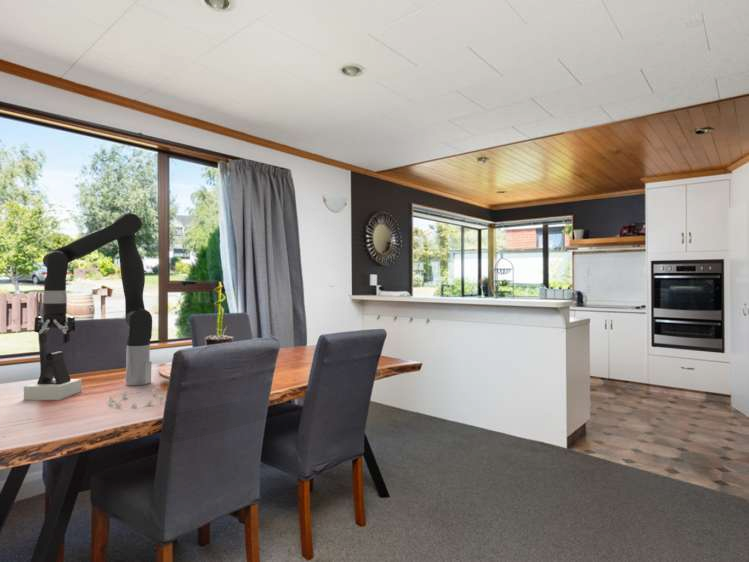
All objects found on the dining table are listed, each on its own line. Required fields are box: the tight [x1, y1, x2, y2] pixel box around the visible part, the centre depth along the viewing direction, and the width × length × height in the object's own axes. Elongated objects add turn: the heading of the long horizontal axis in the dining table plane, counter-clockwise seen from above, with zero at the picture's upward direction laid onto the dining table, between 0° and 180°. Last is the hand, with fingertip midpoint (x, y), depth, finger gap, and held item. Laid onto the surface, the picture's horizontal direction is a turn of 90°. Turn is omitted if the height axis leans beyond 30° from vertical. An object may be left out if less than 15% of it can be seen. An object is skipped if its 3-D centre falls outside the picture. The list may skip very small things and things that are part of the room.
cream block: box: [23, 378, 83, 401], centre depth 179 cm, size 13×14×5 cm
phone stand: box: [36, 350, 71, 384], centre depth 179 cm, size 9×6×12 cm, turn 92°
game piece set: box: [106, 388, 164, 409], centre depth 172 cm, size 19×20×4 cm
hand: (54, 343), depth 179 cm, fingers open, 8 cm apart
